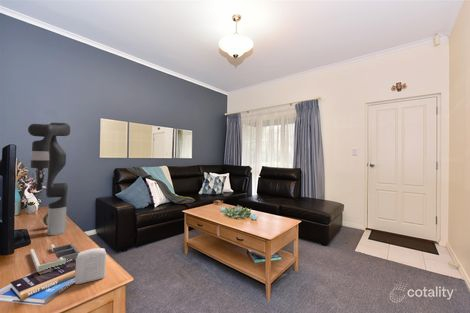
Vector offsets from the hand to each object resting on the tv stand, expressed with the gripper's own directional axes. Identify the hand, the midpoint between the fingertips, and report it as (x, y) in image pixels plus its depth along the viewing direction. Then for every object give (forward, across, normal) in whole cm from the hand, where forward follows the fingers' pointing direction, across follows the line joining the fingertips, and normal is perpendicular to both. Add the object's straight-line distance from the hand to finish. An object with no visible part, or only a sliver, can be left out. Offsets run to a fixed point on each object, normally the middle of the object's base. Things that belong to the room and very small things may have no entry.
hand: (38, 190), depth 115 cm
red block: (+32, -34, -2) cm, 46 cm away
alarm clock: (+32, +39, -12) cm, 52 cm away
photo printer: (+32, -58, -11) cm, 67 cm away
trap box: (+32, -24, -5) cm, 40 cm away
